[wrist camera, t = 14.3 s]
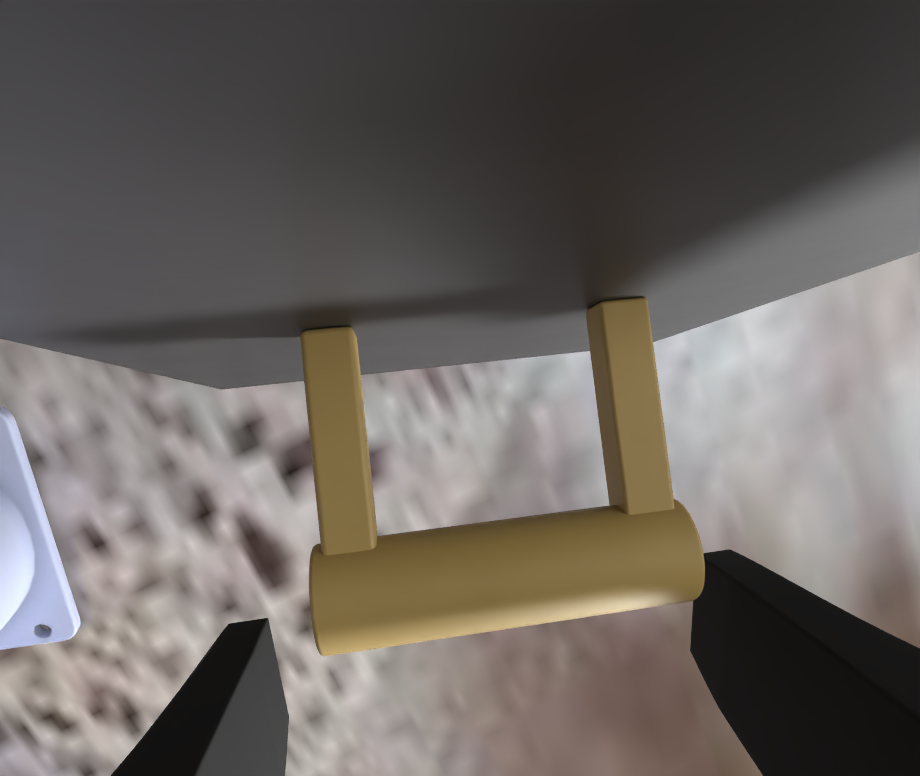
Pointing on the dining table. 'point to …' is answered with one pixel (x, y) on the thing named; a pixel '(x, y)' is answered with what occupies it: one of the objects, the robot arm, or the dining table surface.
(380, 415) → the dining table surface
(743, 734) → the robot arm
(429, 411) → the dining table surface
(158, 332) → the cover
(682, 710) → the dining table surface
